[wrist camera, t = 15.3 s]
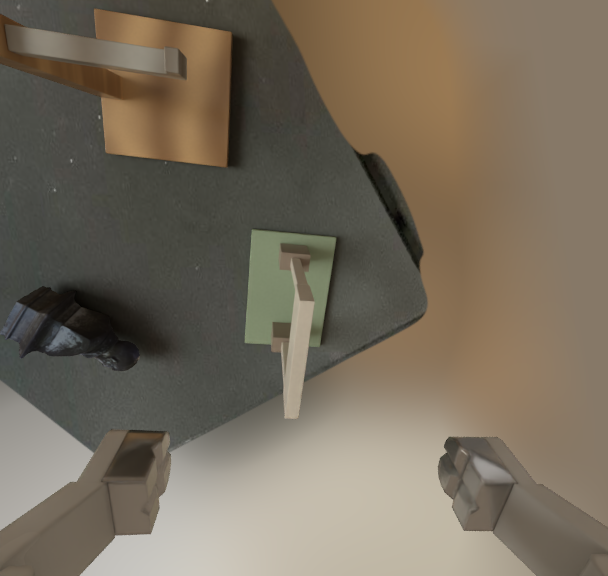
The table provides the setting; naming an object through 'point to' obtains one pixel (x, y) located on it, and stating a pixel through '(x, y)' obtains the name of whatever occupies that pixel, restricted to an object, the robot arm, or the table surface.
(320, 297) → the mat
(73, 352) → the dark knob-ended part
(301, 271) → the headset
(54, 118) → the table surface
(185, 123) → the stand
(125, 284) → the table surface
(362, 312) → the table surface
